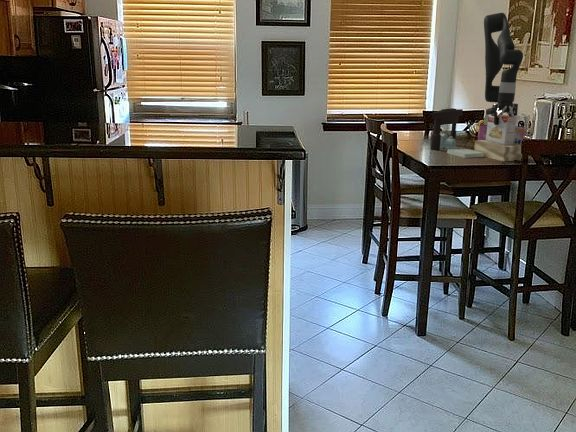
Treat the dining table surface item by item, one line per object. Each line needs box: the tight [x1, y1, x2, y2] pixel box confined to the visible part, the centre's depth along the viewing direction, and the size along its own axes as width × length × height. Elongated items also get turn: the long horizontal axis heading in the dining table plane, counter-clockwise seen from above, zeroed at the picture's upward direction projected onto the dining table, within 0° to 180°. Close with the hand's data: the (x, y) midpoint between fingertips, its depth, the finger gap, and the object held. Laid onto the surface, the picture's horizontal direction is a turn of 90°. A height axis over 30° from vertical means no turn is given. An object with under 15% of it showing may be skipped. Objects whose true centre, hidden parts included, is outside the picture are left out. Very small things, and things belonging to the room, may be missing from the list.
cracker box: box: [486, 114, 517, 146], centre depth 287 cm, size 14×6×21 cm, turn 21°
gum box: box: [477, 124, 527, 144], centre depth 306 cm, size 24×8×14 cm, turn 73°
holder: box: [474, 139, 522, 162], centre depth 289 cm, size 14×22×7 cm, turn 21°
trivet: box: [447, 148, 484, 159], centre depth 293 cm, size 12×14×2 cm
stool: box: [430, 108, 464, 151], centre depth 313 cm, size 16×21×33 cm
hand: (502, 124), depth 285 cm, fingers open, 8 cm apart
